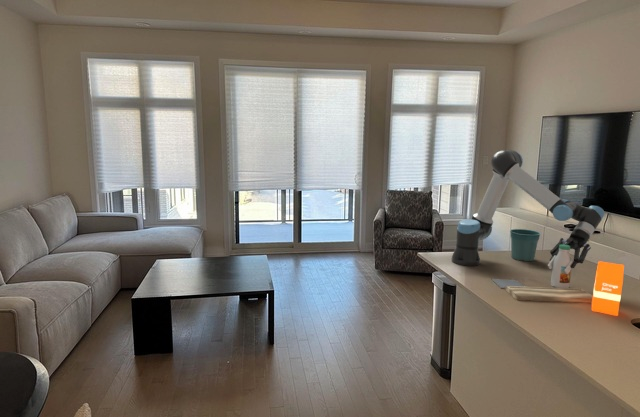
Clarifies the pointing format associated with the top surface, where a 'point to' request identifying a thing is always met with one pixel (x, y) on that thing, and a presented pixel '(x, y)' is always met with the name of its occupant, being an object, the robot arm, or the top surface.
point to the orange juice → (607, 288)
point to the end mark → (506, 283)
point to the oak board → (549, 294)
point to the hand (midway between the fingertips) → (557, 269)
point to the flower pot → (524, 244)
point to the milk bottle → (561, 268)
